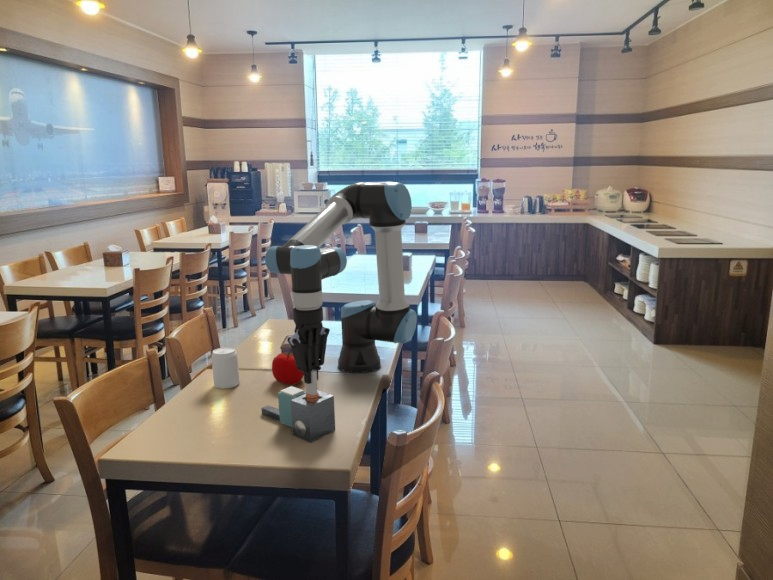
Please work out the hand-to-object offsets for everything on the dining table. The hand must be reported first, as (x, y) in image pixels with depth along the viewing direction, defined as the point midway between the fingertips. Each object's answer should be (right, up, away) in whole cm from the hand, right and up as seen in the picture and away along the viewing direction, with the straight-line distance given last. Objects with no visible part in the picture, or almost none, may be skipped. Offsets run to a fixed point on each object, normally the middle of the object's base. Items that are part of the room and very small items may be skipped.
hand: (312, 393), depth 148 cm
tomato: (-12, -3, +39) cm, 41 cm away
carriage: (-6, -10, +8) cm, 14 cm away
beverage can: (-33, -4, +37) cm, 50 cm away
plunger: (0, -6, +1) cm, 6 cm away
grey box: (0, -11, +3) cm, 11 cm away
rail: (-9, -10, +10) cm, 16 cm away
